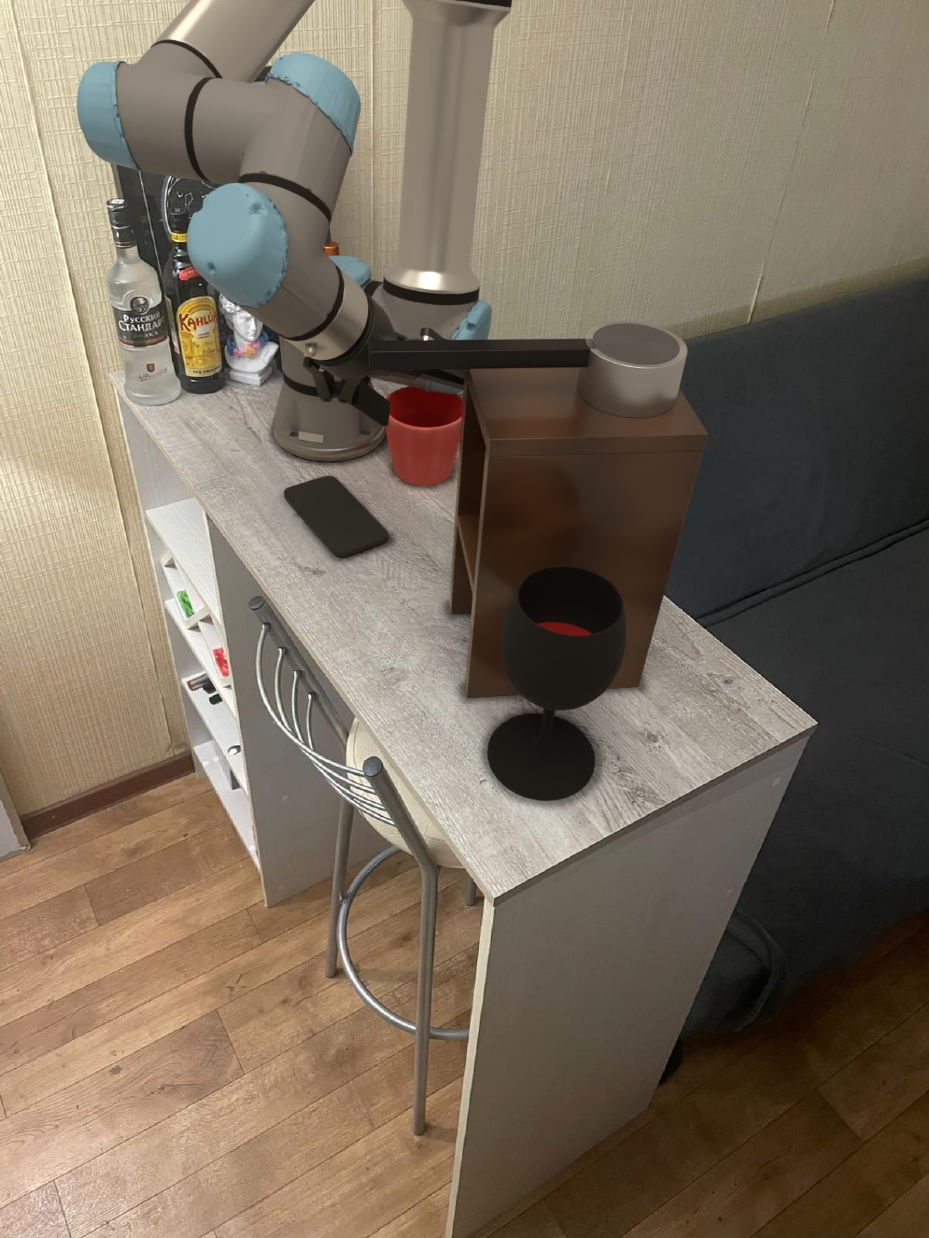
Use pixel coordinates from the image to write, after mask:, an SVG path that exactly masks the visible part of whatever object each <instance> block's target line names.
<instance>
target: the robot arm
mask: <svg viewBox="0 0 929 1238" xmlns="http://www.w3.org/2000/svg"><path fill="white" fill-rule="evenodd" d="M315 1H316V0H189V1H188V2H187V4H186V5H185V6H184V7H183V8H182V9H181V10H180V12H179V13H178V14H177V15H176V16H175V17H174V19H173V20H172V21H171V22H170V23H169V24H168V25H167V27H165V29H164V30H163V31H162V33H160V35H159V36H158V37H157V38H156V39H155V41H154V42H153V43H152V44H151V45H150V47H149V49H147V50H146V52H144V54H142V56H141V57H140V59H139V60H138V61H137V62H135V63H127V62H126V61H125V60H116V61H99V62H96V63H93V64H91V65H90V66H89V67H87V68H86V70H85V71H84V73H83V75H82V76H81V79H80V82H79V85H78V88H77V94H76V113H77V121H78V124H79V128H80V130H81V132H82V134H83V138H84V140H85V142H86V144H87V146H88V148H90V150H91V151H92V153H94V155H96V157H98V158H99V159H100V160H102V161H104V162H106V163H108V164H114V165H117V166H121V167H124V168H128V169H132V170H135V171H137V172H140V173H143V174H144V173H145V174H146V173H150V174H155V175H156V174H157V175H163V176H168V177H175V178H176V177H177V178H182V179H188V180H194V181H199V182H206V183H212V184H218V185H221V186H219V187H217V188H215V189H213V190H212V191H210V192H209V193H208V194H207V195H206V196H205V197H204V198H203V199H202V206H201V208H200V209H199V210H198V211H195V212H193V213H192V216H191V218H190V221H189V224H188V228H187V232H186V249H187V254H188V257H189V260H190V263H191V264H192V266H193V268H194V269H195V271H196V272H197V273H198V274H199V275H200V276H201V277H202V278H203V279H204V280H205V281H206V282H207V283H208V284H209V285H210V286H211V287H212V288H214V289H215V290H216V291H218V293H220V294H221V295H222V296H223V297H224V299H225V300H226V301H228V302H230V303H231V304H233V305H234V306H236V307H238V308H240V309H241V310H243V311H245V312H246V313H247V314H249V315H250V316H252V317H253V318H254V319H256V320H258V321H259V322H260V323H262V324H264V325H265V326H266V327H268V328H269V329H271V330H272V331H273V332H274V333H276V334H277V335H278V338H279V348H280V359H281V370H282V371H281V372H282V385H281V389H280V393H279V396H278V399H277V403H276V407H275V410H274V411H275V412H274V415H273V418H272V427H273V435H274V439H275V442H276V443H277V444H278V445H279V446H280V447H281V449H283V450H285V451H286V452H288V453H290V454H292V455H294V456H296V457H299V458H303V459H306V460H310V461H316V462H318V461H319V462H340V461H346V460H347V461H348V460H352V459H356V458H360V457H362V456H364V455H366V454H369V453H371V452H372V451H374V450H375V449H376V448H378V447H379V446H380V445H381V444H382V442H383V440H384V438H385V435H386V427H385V426H388V423H389V415H390V407H391V402H390V401H388V400H387V399H386V397H384V396H383V395H382V394H381V393H379V391H376V390H375V388H374V385H373V382H372V379H373V380H379V381H383V382H387V383H388V382H389V383H393V384H397V385H402V386H405V387H408V386H410V387H414V388H419V389H423V390H425V391H426V392H431V391H434V392H441V393H447V394H456V393H457V394H460V393H462V392H463V386H464V373H465V372H464V370H465V369H428V370H370V369H369V361H368V341H382V340H489V336H490V331H491V326H492V320H493V319H492V318H493V316H492V313H493V309H492V305H491V304H490V303H489V302H487V301H486V300H485V299H480V287H481V281H480V279H479V278H478V276H477V275H476V274H475V272H474V271H473V270H472V268H471V265H470V262H471V252H472V244H473V234H474V225H475V216H476V215H475V214H476V205H477V197H478V188H479V179H480V178H479V177H480V170H481V169H480V167H481V158H482V150H483V140H484V131H485V122H486V112H487V102H488V94H489V93H488V92H489V84H490V74H491V67H492V66H491V65H492V55H493V46H494V37H495V30H496V28H497V27H498V25H499V24H500V23H501V22H502V21H503V20H504V19H505V18H506V17H507V16H508V15H510V13H512V7H513V0H401V2H402V3H403V5H404V7H405V8H406V10H407V11H408V12H409V14H410V17H411V19H412V20H411V35H410V51H409V67H408V83H407V98H406V99H407V100H406V114H405V115H406V116H405V131H404V134H405V135H404V147H403V148H404V149H403V163H402V166H403V167H402V177H401V180H402V181H401V194H400V196H401V197H400V210H399V211H400V212H399V214H400V215H399V226H398V227H399V228H398V241H397V242H398V243H397V256H396V259H395V260H394V261H393V262H392V263H391V264H390V265H389V266H388V267H387V268H385V270H383V279H382V281H378V280H374V279H372V276H373V272H372V271H371V267H370V265H369V264H368V263H367V262H366V261H364V260H362V258H359V257H354V256H349V255H328V254H327V253H326V252H324V247H325V243H326V241H327V237H328V235H329V230H330V226H331V222H332V219H333V215H334V213H335V208H336V205H337V202H338V198H339V195H340V192H341V189H342V186H343V182H344V179H345V176H346V173H347V170H348V165H349V163H350V159H351V157H352V156H353V154H354V144H355V140H356V135H357V130H358V125H359V121H360V115H361V112H362V111H361V110H362V103H361V102H362V101H361V97H360V94H359V93H358V89H356V86H355V84H354V82H353V81H352V79H350V78H349V76H348V75H347V74H345V72H344V71H342V70H341V68H339V67H337V66H336V65H334V64H333V63H332V62H330V61H328V60H327V59H325V58H322V57H320V56H317V55H316V54H315V55H314V54H312V53H308V52H300V51H293V52H290V53H289V54H287V55H285V54H282V55H279V56H278V57H277V58H276V59H275V60H274V62H273V63H272V65H271V68H270V71H269V72H268V73H266V77H265V79H264V84H258V83H254V82H255V80H256V79H257V78H258V77H259V76H260V74H261V73H262V71H263V70H264V69H265V67H266V66H267V65H268V64H269V62H270V61H271V59H272V58H273V57H274V55H275V54H276V53H277V52H278V50H279V49H280V48H281V46H282V45H283V43H284V42H285V41H286V39H287V38H288V37H289V35H290V34H291V33H292V32H293V30H294V29H295V28H296V26H297V24H299V22H300V21H301V20H302V18H303V17H304V16H305V14H306V13H307V12H308V10H309V9H310V8H311V6H312V5H313V4H314V3H315Z"/></svg>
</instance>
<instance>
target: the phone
mask: <svg viewBox="0 0 929 1238" xmlns="http://www.w3.org/2000/svg"><path fill="white" fill-rule="evenodd" d="M283 497H284V499H285V501H286V502H288V503H289V504H290V506H291V507H292V508H293V509H294V511H295V512H296V513H297V514H298V515H299V516H300V517H301V518H302V520H303V521H304V522H305V523H306V524H307V526H308V527H309V528H310V529H311V530H312V532H314V534H315V535H316V536H317V537H318V538H319V539H320V541H321V542H322V543H323V544H324V545H325V546H326V547H327V548H328V550H329V551H330V552H331V553H332V554H333V555H334V556H336V557H339V558H345V557H349V556H352V555H355V554H358V553H361V552H363V551H366V550H369V549H372V548H374V547H378V546H380V545H383V544H385V543H386V542H388V541H389V532H388V530H387V529H386V528H385V527H384V526H383V525H382V524H381V523H380V522H379V521H378V519H377V518H376V517H375V516H374V515H372V514H371V512H370V511H369V510H368V509H367V508H366V507H365V506H364V505H363V504H362V503H361V502H360V501H359V500H358V498H356V496H355V495H353V493H352V492H350V490H348V488H347V487H346V486H345V485H344V484H343V483H342V482H341V481H340V480H339V479H338V478H337V477H335V476H333V475H324V476H323V475H322V476H320V477H316V478H313V479H311V480H306V481H304V482H300V483H297V484H293V485H291V486H288V487H286V488H285V489H284V490H283Z"/></svg>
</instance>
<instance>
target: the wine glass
mask: <svg viewBox="0 0 929 1238" xmlns="http://www.w3.org/2000/svg"><path fill="white" fill-rule="evenodd" d="M625 645H626V616H625V609H624V603H623V599H622V596H621V594H620V592H619V591H618V589H617V588H616V587H615V586H614V585H613V584H612V583H611V582H610V581H609V580H607V579H606V578H605V577H603V576H601V575H600V574H598V573H595V572H593V571H590V570H588V569H585V568H580V567H576V566H566V565H559V566H549V567H544V568H541V569H538V570H536V571H534V572H532V573H530V574H529V575H527V576H526V577H525V578H524V579H523V580H522V582H521V583H520V584H519V586H518V588H517V589H516V591H515V593H514V595H513V597H512V599H511V601H510V603H509V606H508V608H507V611H506V614H505V617H504V620H503V624H502V629H501V637H500V651H501V659H502V663H503V667H504V670H505V673H506V675H507V677H508V678H509V680H510V682H511V684H512V685H513V686H514V687H515V689H516V690H517V691H518V692H519V693H520V694H519V695H520V696H522V697H523V698H524V699H525V700H527V701H528V702H530V703H531V704H533V705H535V706H537V707H539V708H542V712H530V713H523V714H519V715H516V716H513V717H510V718H509V719H506V720H505V721H504V722H502V723H500V724H499V725H498V726H497V727H496V729H495V730H494V731H493V732H492V734H491V736H490V738H489V740H488V742H487V743H488V745H487V750H486V753H487V761H488V766H489V767H490V770H491V772H492V774H493V775H494V776H495V778H496V779H497V780H498V781H499V782H500V783H501V784H502V785H503V786H505V787H506V788H507V789H508V790H510V791H511V792H513V793H515V794H517V795H520V796H521V797H524V798H527V799H532V800H536V801H556V800H562V799H566V798H568V797H571V796H572V795H575V794H576V793H578V792H580V791H582V790H583V788H584V787H586V786H587V785H588V783H589V782H590V780H591V779H592V776H593V774H594V772H595V766H596V755H595V749H594V748H593V747H594V746H593V744H592V742H591V741H590V739H589V738H588V737H587V735H586V734H585V733H584V732H583V731H582V730H581V729H580V728H579V727H577V725H575V724H573V723H572V722H571V721H568V720H567V719H564V718H563V717H559V716H556V712H557V711H559V712H564V711H571V710H576V709H579V708H581V707H585V706H586V705H588V704H591V703H592V702H593V701H595V700H596V699H598V698H599V697H600V696H601V695H603V694H604V693H605V692H606V691H607V690H608V689H607V688H608V687H609V686H610V684H611V683H612V682H613V680H614V678H615V677H616V675H617V673H618V671H619V669H620V666H621V663H622V660H623V656H624V651H625Z"/></svg>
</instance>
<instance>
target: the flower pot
mask: <svg viewBox="0 0 929 1238" xmlns="http://www.w3.org/2000/svg"><path fill="white" fill-rule="evenodd" d="M385 398H386V399H387V400H388V401H390V402H391V407H390V415H389V423H388V426H385V434H386V438H387V443H388V448H389V454H390V458H391V463H392V467H393V471H394V473H395V475H396V476H397V478H399V479H401V480H402V481H403V482H405V483H407V484H410V485H413V486H419V487H420V486H421V487H429V486H430V487H431V486H434V485H438V484H441V483H443V482H445V481H446V480H447V479H449V477H450V476H451V474H452V472H453V468H454V465H455V462H456V458H457V454H458V452H459V451H458V450H459V448H460V432H461V417H462V402H463V396H461V395H460V394H459V393H456V394H447V393H441V392H434V391H431V392H426V391H425V390H423V389H419V388H414V387H410V386H404V387H400V388H397V389H396V390H394V391H392V392H390V393H389V394H388V395H387V396H386V397H385Z"/></svg>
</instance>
